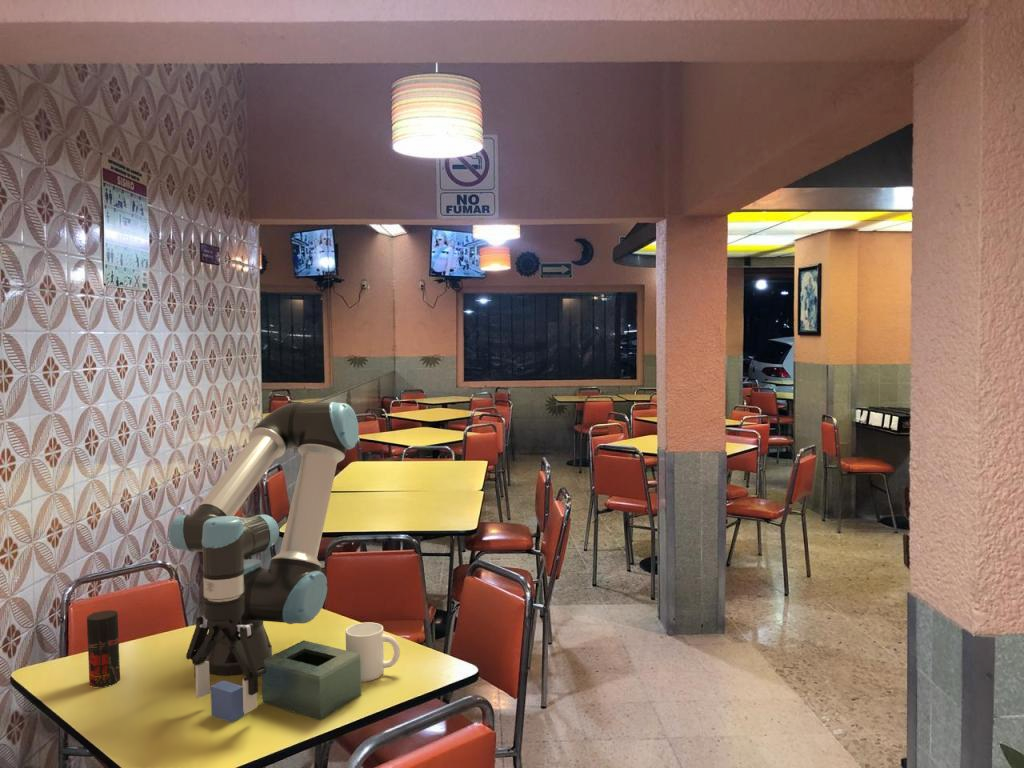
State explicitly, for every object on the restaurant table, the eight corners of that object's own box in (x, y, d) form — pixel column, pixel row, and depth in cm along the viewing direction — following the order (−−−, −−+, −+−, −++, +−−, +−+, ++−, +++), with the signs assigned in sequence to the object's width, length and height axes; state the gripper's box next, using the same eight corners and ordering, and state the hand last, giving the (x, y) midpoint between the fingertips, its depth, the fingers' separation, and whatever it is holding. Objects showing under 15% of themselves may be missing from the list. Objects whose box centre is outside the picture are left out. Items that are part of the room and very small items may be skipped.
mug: (404, 666, 168) (403, 622, 168) (396, 683, 160) (395, 636, 159) (352, 666, 169) (351, 622, 168) (341, 682, 161) (340, 635, 160)
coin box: (262, 702, 152) (261, 660, 151) (304, 679, 162) (303, 640, 162) (320, 720, 144) (319, 676, 144) (361, 694, 155) (360, 653, 154)
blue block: (211, 715, 147) (210, 686, 146) (223, 709, 149) (222, 680, 149) (232, 722, 144) (231, 692, 143) (244, 715, 146) (243, 686, 146)
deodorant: (85, 682, 162) (82, 615, 162) (114, 673, 167) (112, 608, 166) (94, 690, 158) (92, 622, 158) (124, 681, 163) (121, 614, 162)
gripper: (166, 592, 148) (168, 696, 149) (253, 611, 136) (255, 724, 137) (197, 582, 155) (199, 682, 155) (284, 599, 143) (286, 707, 143)
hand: (226, 702), depth 146 cm, fingers open, 13 cm apart
